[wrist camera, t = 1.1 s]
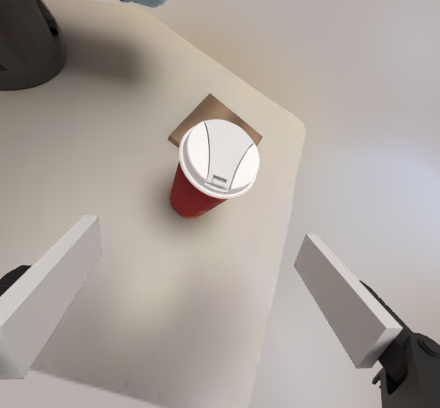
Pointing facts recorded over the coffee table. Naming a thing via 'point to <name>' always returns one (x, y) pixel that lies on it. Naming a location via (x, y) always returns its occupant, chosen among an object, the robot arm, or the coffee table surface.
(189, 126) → the walnut pad
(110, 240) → the coffee table surface
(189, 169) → the paper cup
